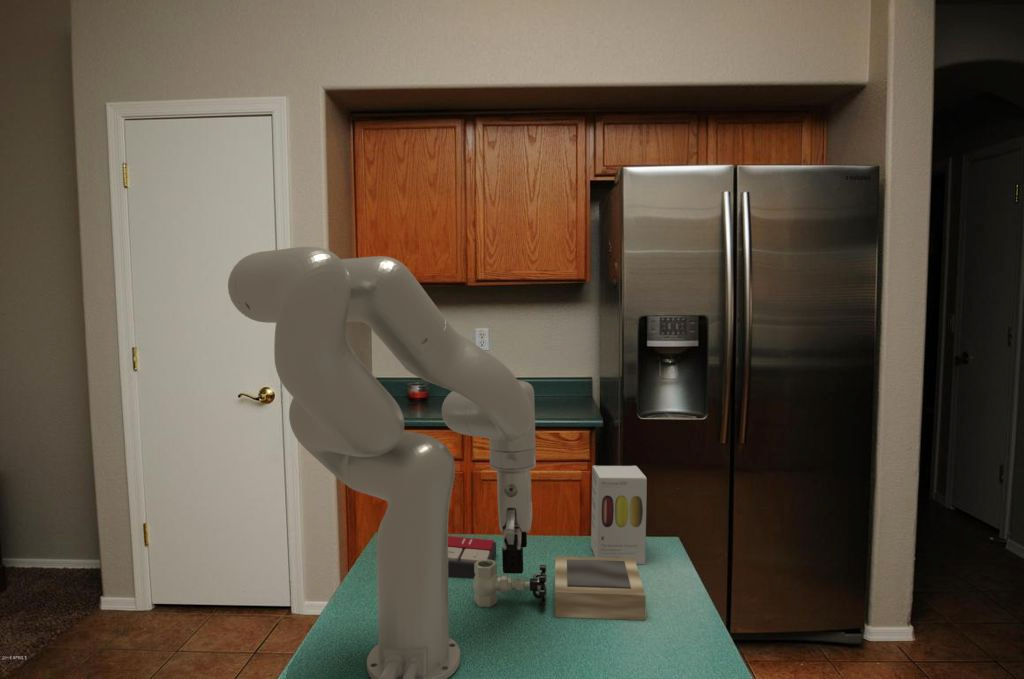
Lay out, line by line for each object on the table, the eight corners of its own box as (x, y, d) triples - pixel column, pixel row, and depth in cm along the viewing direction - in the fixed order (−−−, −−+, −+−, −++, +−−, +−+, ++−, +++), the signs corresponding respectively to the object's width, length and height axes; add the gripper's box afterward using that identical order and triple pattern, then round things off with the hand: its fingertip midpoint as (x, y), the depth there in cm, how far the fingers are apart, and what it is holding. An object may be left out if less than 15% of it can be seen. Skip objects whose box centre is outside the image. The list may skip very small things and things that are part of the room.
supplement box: (596, 565, 115) (596, 477, 114) (589, 546, 125) (589, 464, 124) (647, 565, 115) (648, 476, 115) (636, 546, 125) (637, 464, 124)
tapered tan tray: (645, 620, 95) (645, 593, 95) (554, 617, 96) (554, 590, 96) (634, 580, 109) (634, 556, 109) (555, 577, 110) (555, 554, 110)
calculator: (488, 561, 109) (406, 553, 111) (487, 584, 110) (405, 576, 111) (497, 538, 120) (422, 531, 122) (496, 559, 121) (421, 552, 122)
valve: (470, 611, 98) (545, 615, 97) (469, 571, 98) (545, 574, 97) (476, 592, 105) (546, 595, 104) (476, 554, 104) (546, 557, 103)
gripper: (533, 473, 91) (536, 584, 92) (537, 443, 108) (540, 538, 109) (483, 473, 91) (486, 583, 93) (495, 444, 108) (498, 537, 110)
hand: (515, 559), depth 101 cm, fingers open, 9 cm apart
